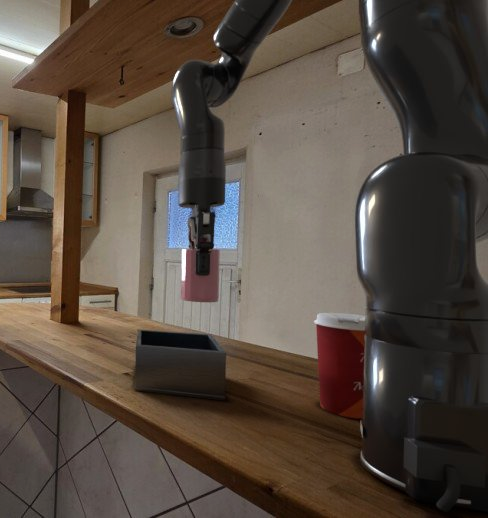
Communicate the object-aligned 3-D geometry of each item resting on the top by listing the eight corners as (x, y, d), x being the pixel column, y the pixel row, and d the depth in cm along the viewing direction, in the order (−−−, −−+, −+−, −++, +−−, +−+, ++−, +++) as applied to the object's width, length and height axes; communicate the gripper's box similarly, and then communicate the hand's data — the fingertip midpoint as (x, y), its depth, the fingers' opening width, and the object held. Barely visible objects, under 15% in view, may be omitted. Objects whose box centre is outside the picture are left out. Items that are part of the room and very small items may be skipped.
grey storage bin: (225, 400, 58) (226, 352, 58) (135, 390, 62) (135, 345, 62) (210, 373, 71) (211, 334, 71) (136, 366, 75) (137, 329, 75)
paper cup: (383, 427, 50) (386, 323, 49) (311, 412, 54) (314, 316, 54) (375, 408, 56) (378, 315, 56) (311, 395, 61) (313, 310, 60)
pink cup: (221, 303, 62) (222, 249, 62) (182, 301, 64) (183, 249, 64) (215, 298, 68) (216, 249, 68) (179, 297, 70) (180, 249, 70)
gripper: (234, 169, 58) (232, 277, 58) (217, 185, 71) (216, 272, 72) (182, 172, 60) (180, 276, 60) (175, 187, 74) (174, 271, 74)
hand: (199, 274), depth 66 cm, fingers closed on pink cup, 6 cm apart
